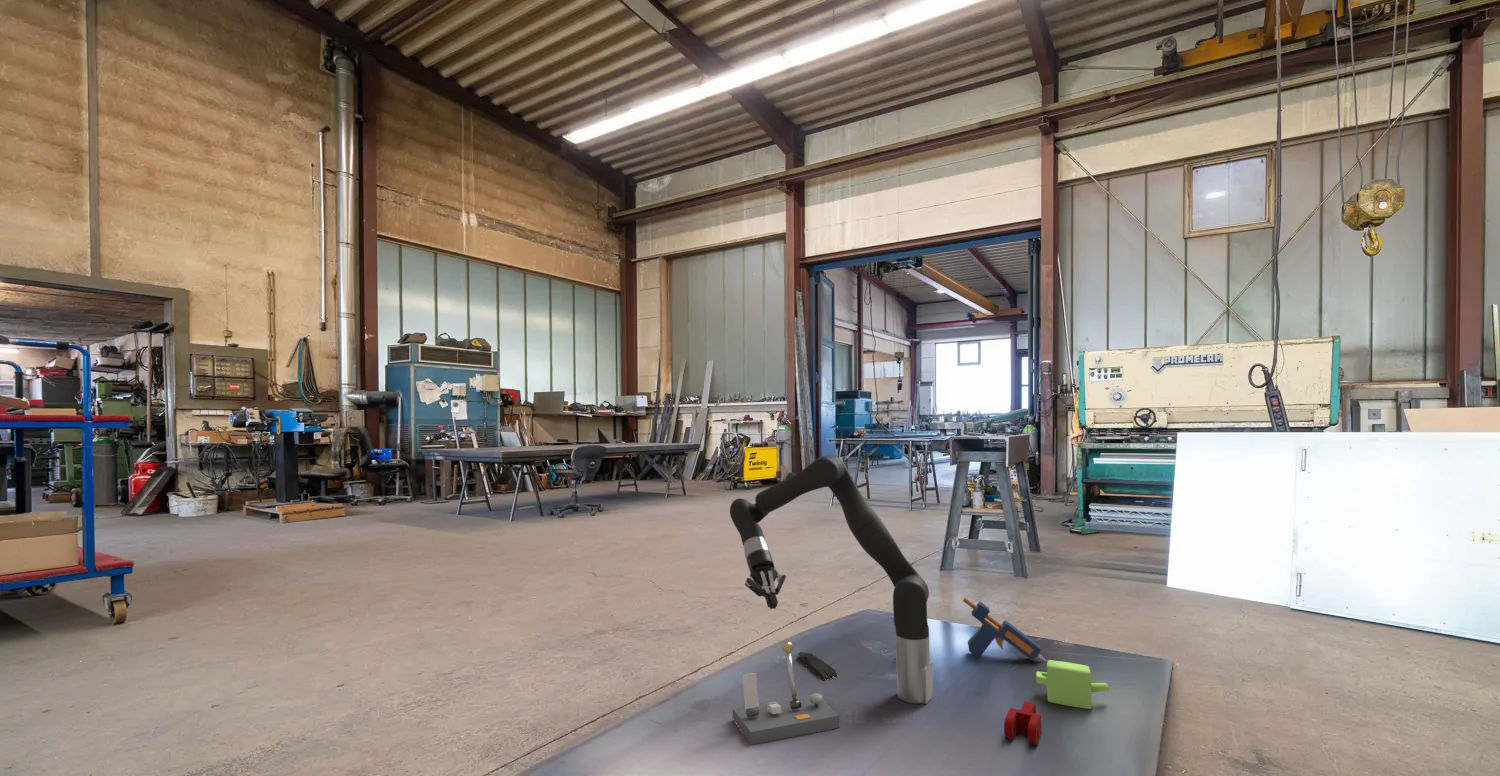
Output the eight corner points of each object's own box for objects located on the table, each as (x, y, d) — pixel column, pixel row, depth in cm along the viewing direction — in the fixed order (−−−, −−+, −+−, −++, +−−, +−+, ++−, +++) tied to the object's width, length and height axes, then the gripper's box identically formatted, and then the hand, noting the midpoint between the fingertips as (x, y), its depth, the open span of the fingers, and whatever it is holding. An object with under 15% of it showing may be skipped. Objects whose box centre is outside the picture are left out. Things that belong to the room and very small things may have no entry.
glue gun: (1024, 693, 205) (1052, 657, 203) (942, 633, 211) (969, 597, 209) (1020, 685, 211) (1048, 650, 209) (941, 626, 217) (967, 591, 215)
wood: (846, 679, 194) (845, 669, 195) (824, 682, 192) (824, 672, 192) (814, 655, 215) (814, 646, 215) (794, 658, 213) (794, 649, 213)
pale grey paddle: (744, 717, 162) (741, 674, 165) (758, 714, 163) (754, 672, 166) (747, 718, 160) (743, 675, 163) (760, 715, 162) (756, 673, 165)
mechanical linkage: (1036, 749, 151) (1035, 727, 151) (1004, 741, 155) (1003, 720, 155) (1046, 722, 164) (1045, 702, 165) (1017, 715, 168) (1016, 696, 168)
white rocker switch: (767, 710, 165) (767, 702, 166) (776, 709, 166) (775, 701, 166) (772, 714, 162) (772, 706, 162) (781, 712, 163) (780, 704, 163)
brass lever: (788, 709, 167) (779, 642, 173) (799, 707, 168) (789, 640, 174) (793, 709, 164) (783, 641, 170) (803, 708, 165) (793, 640, 171)
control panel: (732, 720, 167) (732, 707, 168) (815, 705, 176) (815, 693, 176) (751, 744, 154) (750, 731, 154) (839, 727, 162) (839, 714, 163)
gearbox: (1108, 700, 177) (1107, 665, 178) (1110, 713, 168) (1109, 676, 169) (1037, 688, 185) (1036, 655, 186) (1036, 700, 176) (1035, 665, 177)
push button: (808, 704, 169) (808, 694, 169) (819, 702, 170) (819, 692, 170) (813, 709, 166) (813, 699, 166) (824, 707, 167) (824, 697, 167)
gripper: (740, 550, 189) (755, 602, 176) (781, 546, 193) (798, 597, 181) (734, 564, 193) (748, 616, 181) (775, 560, 198) (791, 611, 185)
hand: (773, 607), depth 181 cm, fingers closed
